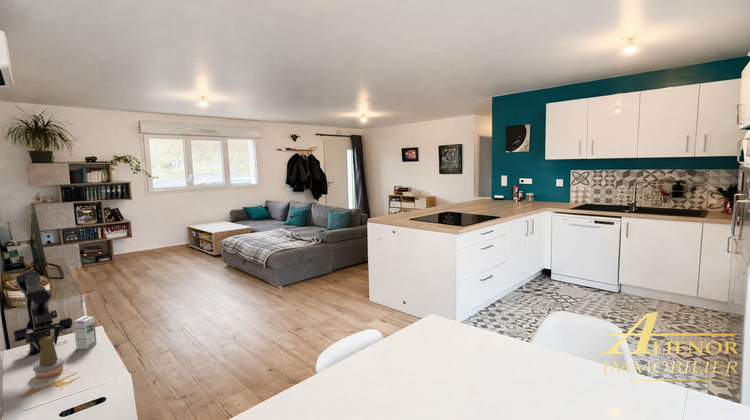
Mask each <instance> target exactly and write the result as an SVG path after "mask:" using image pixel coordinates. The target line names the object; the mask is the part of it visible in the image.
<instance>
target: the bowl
mask: <svg viewBox="0 0 750 420" xmlns="http://www.w3.org/2000/svg"><path fill="white" fill-rule="evenodd" d="M63 370H64V363H63V364H62V365H61V366H59V367H57V368H55V369H52V370H49V371H45V372H35V371H34V376H35V378H37V379H47V378H51V377H54V376H57V375H59V374H60V373H61V372H62V371H63Z"/></svg>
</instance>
